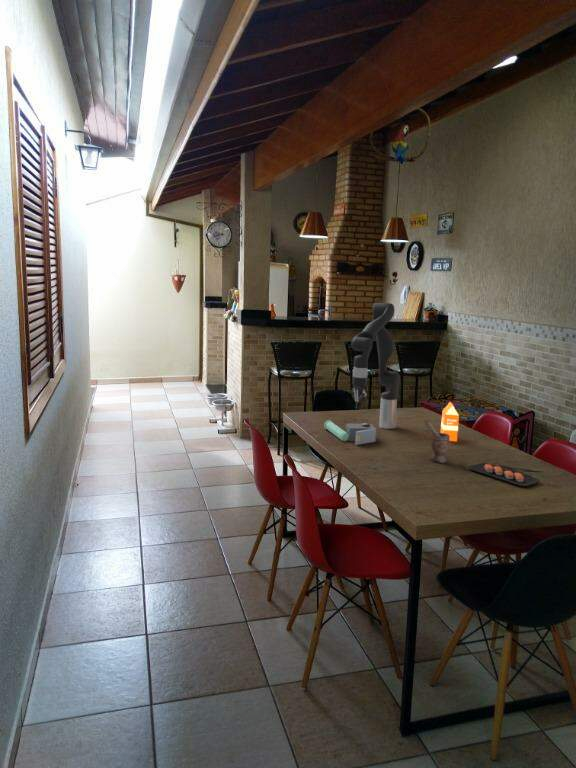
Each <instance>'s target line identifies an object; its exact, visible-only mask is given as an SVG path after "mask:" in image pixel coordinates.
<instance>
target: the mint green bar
mask: <svg viewBox="0 0 576 768" xmlns="http://www.w3.org/2000/svg"><path fill="white" fill-rule="evenodd" d="M323 426H324V429H325V430H327V431H329V432H330V433H331V434H333V435H334V436H335V437H336V438H338V439H339V440H340V441H342V442H347V441H349V440H348V439H349V435H348V434H347V433H346V430H344V429H342V428H340V427H339V425H336V424H335V423H334V422H333V420H326V421H325V422H324V424H323Z"/></svg>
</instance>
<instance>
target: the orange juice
mask: <svg viewBox="0 0 576 768" xmlns="http://www.w3.org/2000/svg"><path fill="white" fill-rule="evenodd" d="M441 413H442V414H441V423H440V432H439V433H446V434H448V435H450V438H449V442H458V432H459V421H460V415H459V413H458V412H457V410H456V409H455V406H454V404H453V403H452V402H451V401H449V402H448V404H447V405H446V406H445V407H444V408H443V410H442V411H441Z"/></svg>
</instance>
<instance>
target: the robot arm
mask: <svg viewBox="0 0 576 768" xmlns="http://www.w3.org/2000/svg"><path fill="white" fill-rule="evenodd" d="M394 316H395V305H394V304H393V303H390V302H374V304H373V306H372V319H373V320H372V321H370V322H369V323H367V324H366V326H364V329H363V330H362V331H361V332H358V334H356V335H355V336H354V337H353V339H351V345H350V346H351V348H352V350H354V351H357V352H362V354H361V355H360V354H359V355H356V356H354V359H353V369H352V382H351V383H352V385H353V386H352V388H351V389H350V393H351V396H352V399H353V400H354V402H355V409H356V410H361V408H362V407H361V406H362V403H363V402H364V401H365V400H366V398H367V397H368V395H369V394H368V392H366V386H367V384H368V374H369V373H368V364H369V363H368V361H369V357H370V354H371V350H372V348H373V340H374V339H376V349H377V355H378V379H379V384H380V386H382V387H385V388H386V387H388V388H390V389H389V390H388V391H384V392H382V393H381V396H380V407H379V422H378V427H379V428H381V429H388V430H389V429H390V430H391V429H397V416H398V411H397V404H398V403H397V401H398V395H399V388H400V387H399V385H400V374H399V372H398V371H391V370H388V362H389V361H390V359H391V358H392V356H393V355H394V351H395V345H394V339H393V337H392V335H391V334H390V332H389V331H388V330H387V329H386V327H385V325H386V324H387V323H389V322H390V321H391V320H392V319H393V317H394Z"/></svg>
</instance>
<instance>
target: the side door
mask: <svg viewBox="0 0 576 768" xmlns="http://www.w3.org/2000/svg"><path fill="white" fill-rule="evenodd" d="M377 433H378V428H377V427H375V428H374V429H368V430H362V431H356V438H355V441H354V445H355V446H358V445H364V444H370V443H375V442H377Z"/></svg>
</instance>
